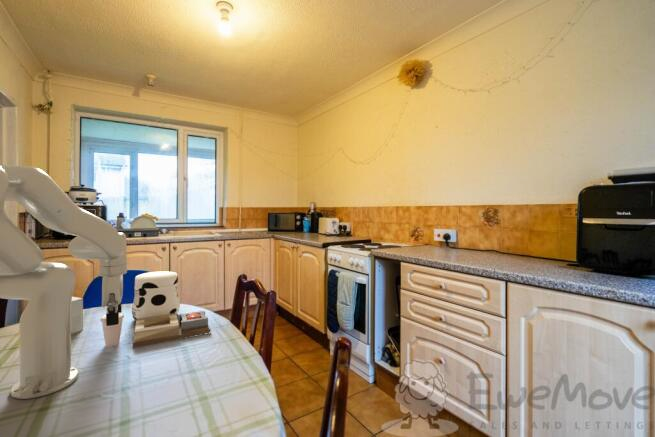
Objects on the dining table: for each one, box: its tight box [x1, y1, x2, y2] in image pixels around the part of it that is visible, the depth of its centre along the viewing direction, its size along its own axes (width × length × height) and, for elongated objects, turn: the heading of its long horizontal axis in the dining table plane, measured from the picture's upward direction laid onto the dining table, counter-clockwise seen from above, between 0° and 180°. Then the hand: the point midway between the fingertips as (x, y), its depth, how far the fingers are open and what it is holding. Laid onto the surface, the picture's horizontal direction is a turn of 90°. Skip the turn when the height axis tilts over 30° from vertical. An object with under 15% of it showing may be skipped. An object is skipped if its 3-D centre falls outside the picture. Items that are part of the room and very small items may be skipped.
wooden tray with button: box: [132, 310, 211, 349], centre depth 108 cm, size 14×24×5 cm, turn 121°
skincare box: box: [71, 296, 84, 335], centre depth 107 cm, size 6×4×12 cm
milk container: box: [131, 270, 181, 321], centre depth 122 cm, size 17×17×18 cm
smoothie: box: [100, 312, 125, 348], centre depth 98 cm, size 6×6×14 cm
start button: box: [186, 314, 201, 320], centre depth 112 cm, size 5×5×3 cm
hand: (114, 319), depth 99 cm, fingers open, 9 cm apart
